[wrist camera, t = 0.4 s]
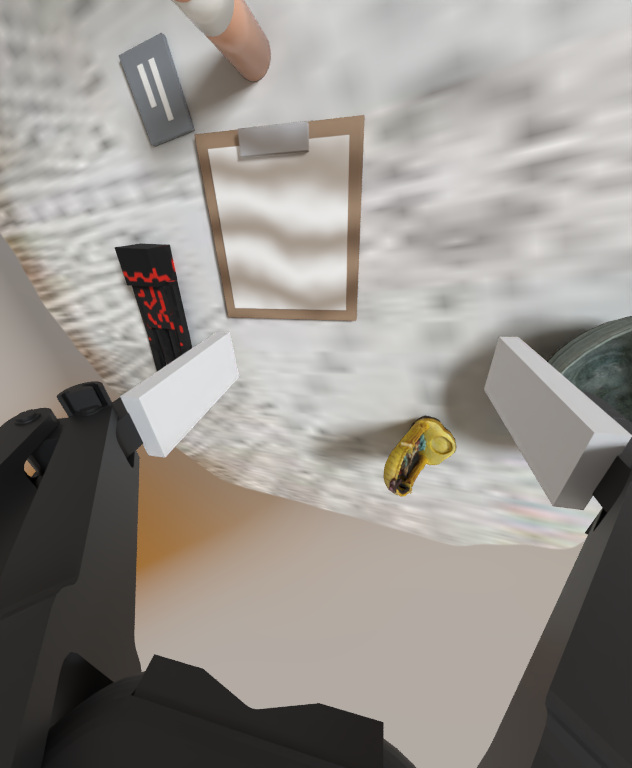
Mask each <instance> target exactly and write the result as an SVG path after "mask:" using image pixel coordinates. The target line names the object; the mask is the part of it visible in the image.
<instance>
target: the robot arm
mask: <svg viewBox="0 0 632 768" xmlns="http://www.w3.org/2000/svg"><path fill="white" fill-rule="evenodd" d="M239 377H240V376H239V372H238V367H237V363H236V358H235V354H234V349H233V345H232V340H231V336H230V332H216V333H214V334H213V335H211V336H210V337H208V338H207V339H205V340H204V341H202V342H201V343H199V344H198V345H196V346H195V347H193V348H192V349H190V350H189V351H187V352H186V353H184V354H183V355H181V356H180V357H178V358H177V359H175V360H174V361H172V362H171V363H169V364H168V365H166V366H165V367H163V368H162V369H160V370H159V371H158V372H156V373H155V374H153V375H152V376H150V377H149V378H147V379H146V380H144V381H143V382H141V383H140V384H138V385H137V386H135V387H134V388H132V389H131V390H129V391H128V392H126V393H125V394H123V395H122V396H120V398H118V399H117V400H115V401H114V402H111V400H110V398H109V396H108V394H107V392H106V390H105V388H104V386H103V384H102V383H101V382H87V383H82V384H78V385H75V386H73V387H70V388H68V389H66V390H64V391H63V392H61V393H59V394H58V395H57V398H58V400H59V402H60V403H61V405H62V406H63V408H64V410H65V411H66V413H67V415H68V416H69V417H68V418H62V419H57V418H56V416H55V415H54V414H53V412H52V410H51V409H49V408H39V409H34V410H32V409H31V410H28V411H26V412H22V413H20V414H18V415H17V416H15V417H13V418H12V419H10V420H8V421H7V422H6V423H4V424H3V425H2V426H1V427H0V768H416V767H415V766H414V765H413V764H412V763H411V762H410V761H409V760H408V759H407V758H406V757H405V756H404V755H403V754H402V753H401V752H400V751H399V750H398V749H397V748H395V747H394V746H393V745H391V744H390V743H389V742H387V741H386V740H385V739H384V738H383V722H381V721H377V720H374V719H371V718H367V717H363V716H360V715H357V714H354V713H350V712H347V711H344V710H340V709H337V708H333V707H330V706H326V705H323V704H320V703H317V704H308V705H297V706H287V707H278V708H267V709H252V708H250V707H248V706H247V705H245V704H244V703H243V702H242V701H241V700H239V699H238V698H237V697H236V696H235V695H233V694H232V693H231V692H230V691H229V690H228V689H226V688H225V687H224V686H223V685H222V684H220V683H219V682H218V681H217V680H216V679H214V678H213V677H212V676H211V675H209V673H207V672H206V671H205V670H204V669H202V668H199V667H195V666H191V665H188V664H185V663H182V662H178V661H175V660H172V659H168V658H165V657H162V656H158V655H154V656H153V658H152V660H151V662H150V663H149V666H148V667H147V669H146V671H144V672H141V665H140V661H139V658H138V655H137V651H136V648H135V642H134V625H135V624H134V623H135V590H136V557H137V553H136V552H137V523H138V488H139V455H138V453H137V451H136V450H137V449H138V447H140V446H141V445H142V444H143V445H144V447H145V449H146V451H147V453H148V455H150V456H158V457H166V456H167V455H168V454H169V453H170V452H171V451H172V449H173V448H174V447H175V446H176V445H177V444H178V443H179V442H180V441H181V440H182V439H183V438H184V436H185V435H186V434H187V433H188V432H189V431H190V430H191V429H192V428H193V427H194V426H195V424H196V423H197V422H198V421H199V420H200V419H201V418H202V417H203V416H204V415H205V414H206V413H207V411H208V410H209V409H210V408H211V407H212V406H213V405H214V404H215V403H216V402H217V401H218V399H219V398H220V397H221V396H222V395H223V394H224V393H225V392H226V391H227V390H228V389H229V387H230V386H231V385H232V384H233V383H234V382H235V381H236V380H237V379H238V378H239ZM484 391H485V392H486V394H487V396H488V397H489V399H490V401H491V403H492V404H493V406H494V408H495V409H496V411H497V413H498V414H499V416H500V418H501V419H502V421H503V423H504V424H505V426H506V428H507V430H508V431H509V433H510V435H511V436H512V438H513V440H514V441H515V443H516V445H517V446H518V448H519V450H520V451H521V453H522V455H523V457H524V458H525V460H526V462H527V463H528V465H529V467H530V468H531V470H532V472H533V473H534V475H535V477H536V479H537V480H538V482H539V484H540V485H541V487H542V489H543V490H544V492H545V494H546V495H547V497H548V499H549V500H550V502H551V504H552V506H556V507H564V508H572V509H580V510H584V509H585V507H586V505H587V504H588V502H589V501H590V499H591V498H592V496H594V497H595V498H596V500H597V501H598V502H599V503H600V505H601V506H602V507H603V508H602V509H601V511H600V512H599V514H598V515H597V517H596V518H595V519H594V521H593V522H592V524H591V525H590V526H589V528H588V529H587V531H586V532H585V533H586V534H588V536H587V538H586V540H585V543H584V545H583V547H582V549H581V551H580V553H579V556H578V558H577V560H576V562H575V564H574V567H573V569H572V571H571V573H570V575H569V577H568V579H567V582H566V584H565V586H564V588H563V590H562V593H561V595H560V597H559V599H558V601H557V603H556V606H555V608H554V610H553V612H552V614H551V616H550V618H549V620H548V623H547V625H546V627H545V629H544V631H543V634H542V636H541V638H540V640H539V642H538V644H537V647H536V649H535V651H534V653H533V656H532V657H531V659H530V662H529V664H528V666H527V668H526V670H525V672H524V675H523V677H522V679H521V681H520V683H519V685H518V688H517V690H516V692H515V694H514V696H513V698H512V700H511V703H510V705H509V707H508V709H507V711H506V713H505V716H504V718H503V720H502V722H501V724H500V726H499V729H498V731H497V733H496V735H495V737H494V739H493V741H492V743H491V745H490V747H489V749H488V751H487V752H486V754H485V756H484V757H483V759H482V760H481V762H480V764H479V765H478V767H477V768H632V423H631V422H630V421H629V420H626V418H625V417H624V416H623V415H621V414H620V413H619V412H616V410H615V409H614V408H613V407H612V406H610V405H609V404H608V403H607V402H605V401H604V400H603V399H601V398H599V397H597V396H595V395H593V394H591V393H589V392H586V391H580V390H579V389H578V388H577V387H576V386H574V385H573V384H572V383H571V382H570V381H569V380H568V379H566V378H565V377H564V376H563V375H562V374H561V373H559V372H558V371H557V370H556V369H555V368H554V367H552V366H551V365H550V364H549V363H548V362H547V361H546V360H544V359H543V358H542V357H541V356H540V355H539V354H537V353H536V352H535V351H534V350H533V349H532V348H531V347H529V346H528V345H527V344H526V343H525V342H524V341H522V340H521V339H520V338H519V337H499V338H498V342H497V345H496V349H495V352H494V356H493V359H492V363H491V366H490V370H489V373H488V377H487V380H486V384H485V387H484ZM26 460H28V462H29V463H30V464H31V466H32V467H33V468H34V469H35V471H36V472H35V473H34V474H33V476H32V477H30V476H29V475H27V473H26V472H25V471H24V464H25V462H26Z"/></svg>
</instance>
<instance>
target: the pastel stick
mask: <svg viewBox="0 0 632 768" xmlns="http://www.w3.org/2000/svg"><path fill="white" fill-rule="evenodd" d="M172 1H173V2H174V3H175V4H176V5H177V6H178V7H179V9H180V10H181V11H182V12H183V13H184V14H185V15H186V16H187V17H188V18H189V19H190V20H191V21H192V23H193V24H194V25H195V26H196V27H197V28H198V29H199V30H200V31H201V32H202V33H204V35H205V36H206V37H207V38H208V39H209V40H210V41H211V42H212V43H213V44H214V45H215V46H216V48H217V49H218V50H219V51H220V52H221V53H222V54H223V55H224V56H225V57H226V58H227V59H228V61H229V62H230V63H231V64H232V65H233V66H234V67H235V68H236V69H237V70H238V71H239V72H240V74H241V75H242V76H243V77H244V78H246V79H247V80H249V81H258V80H260V79H261V78H263V77H264V75H265V74H266V72H267V70H268V68H269V65H270V59H271V51H270V45H269V42H268V39H267V37H266V35H265V34H264V32H263V30H262V29H261V27H260V25H259V24H258V22H257V21H256V19H255V17H254V16H253V14H252V12H251V11H250V9H249V7H248V6H247V4H246V2H245V1H244V0H172Z"/></svg>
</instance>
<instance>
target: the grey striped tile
mask: <svg viewBox="0 0 632 768" xmlns="http://www.w3.org/2000/svg"><path fill="white" fill-rule="evenodd" d="M119 58H120V61H121V63H122V66H123V69H124V72H125V74H126V77H127V80H128V82H129V85H130V88H131V91H132V93H133V96H134V99H135V101H136V104H137V107H138V109H139V112H140V115H141V118H142V120H143V123H144V126H145V128H146V131H147V134H148V136H149V139H150V142H151V145H153V146H157V145H159V144H162V143H164V142H167V141H169V140H172V139H174V138H177V137H179V136H182V135H184V134H187V133H190V132H192V131H195V130H194V127H193V124H192V121H191V117H190V114H189V111H188V108H187V104H186V101H185V98H184V95H183V92H182V88H181V85H180V82H179V79H178V75H177V72H176V69H175V66H174V62H173V59H172V56H171V53H170V50H169V46H168V43H167V40H166V37H165V35H164V34H162V33H160V34H158V35H156V36H154V37H153V38H151V39H149V40H147V41H145V42H143V43H141V44H139V45H138V46H136V47H134V48H132V49H130V50H128V51H126V52H124V53H123V54H121V55H119Z"/></svg>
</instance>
